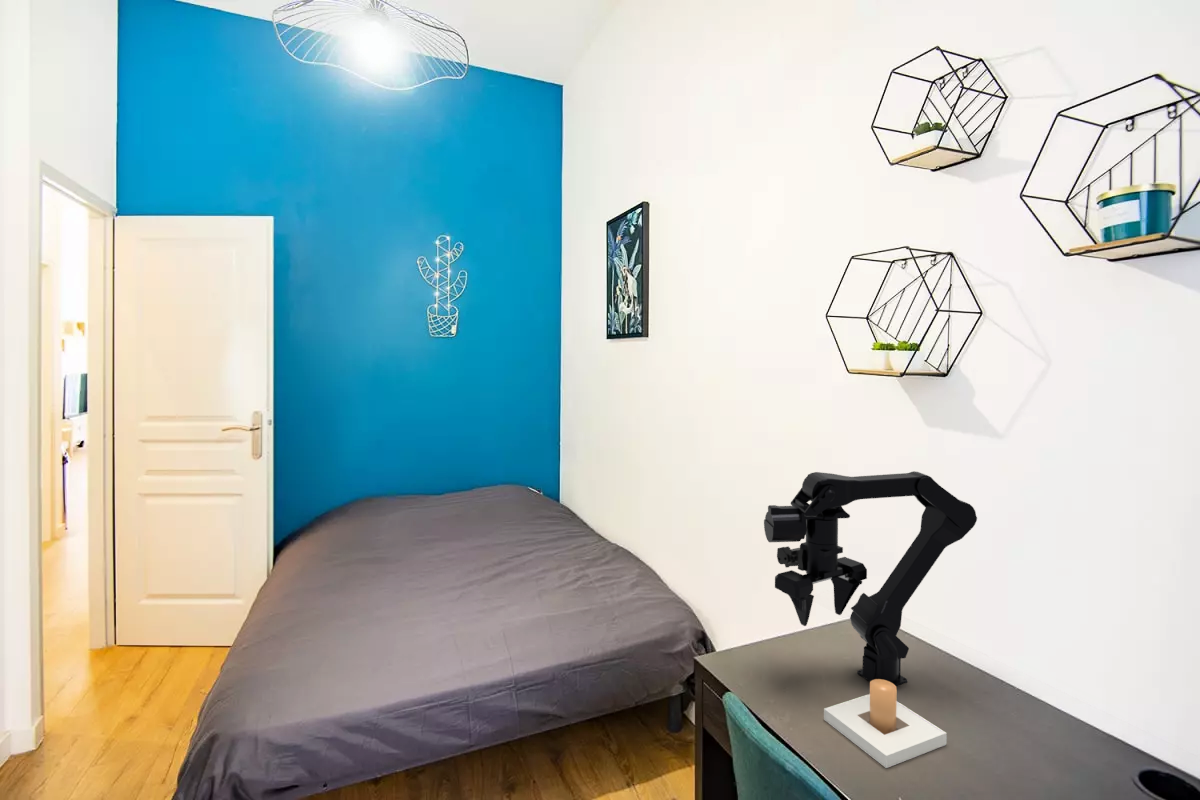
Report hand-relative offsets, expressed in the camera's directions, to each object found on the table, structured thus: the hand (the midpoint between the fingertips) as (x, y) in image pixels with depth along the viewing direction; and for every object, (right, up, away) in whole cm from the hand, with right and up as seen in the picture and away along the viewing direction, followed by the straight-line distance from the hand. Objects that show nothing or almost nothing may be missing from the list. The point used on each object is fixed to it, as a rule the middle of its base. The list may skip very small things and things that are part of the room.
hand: (821, 619), depth 112 cm
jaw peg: (+5, -13, -15) cm, 20 cm away
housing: (+5, -13, -15) cm, 20 cm away
